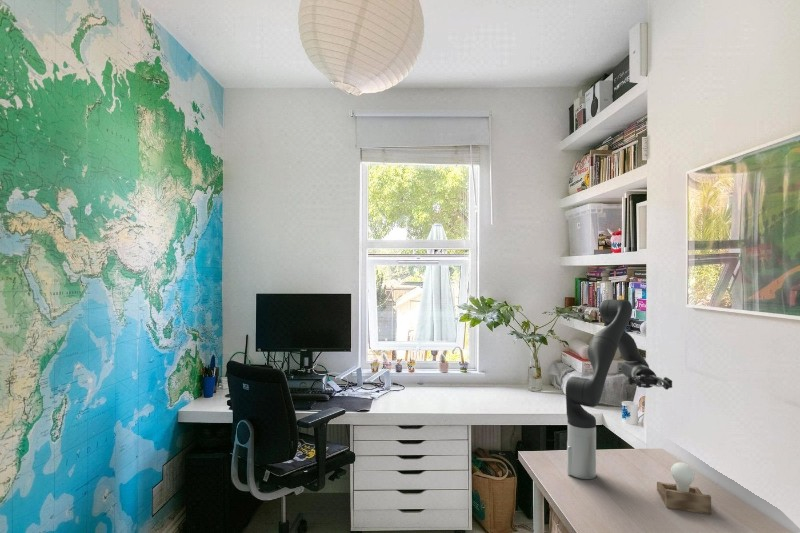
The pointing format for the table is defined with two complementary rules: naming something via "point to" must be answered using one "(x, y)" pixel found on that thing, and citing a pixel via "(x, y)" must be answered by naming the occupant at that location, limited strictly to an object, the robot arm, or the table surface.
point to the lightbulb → (682, 476)
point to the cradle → (684, 498)
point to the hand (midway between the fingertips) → (653, 385)
